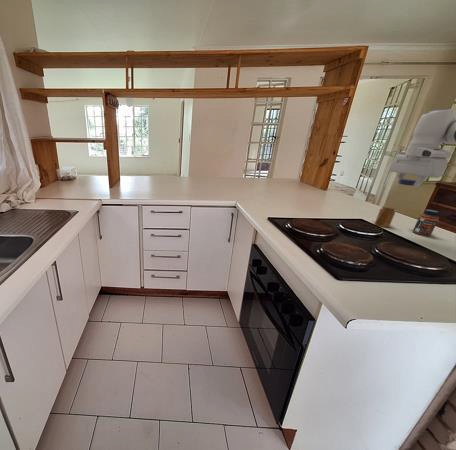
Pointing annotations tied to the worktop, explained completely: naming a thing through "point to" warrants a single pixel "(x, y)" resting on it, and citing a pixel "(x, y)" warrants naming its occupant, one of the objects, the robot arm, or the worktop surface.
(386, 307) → the worktop surface
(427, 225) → the supplement bottle
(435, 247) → the worktop surface
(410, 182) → the jar lid
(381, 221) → the jam jar
